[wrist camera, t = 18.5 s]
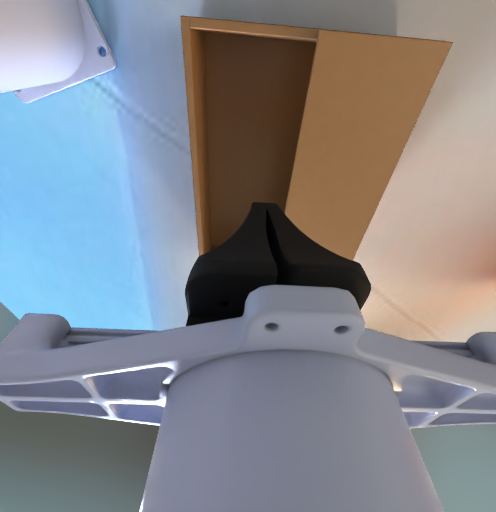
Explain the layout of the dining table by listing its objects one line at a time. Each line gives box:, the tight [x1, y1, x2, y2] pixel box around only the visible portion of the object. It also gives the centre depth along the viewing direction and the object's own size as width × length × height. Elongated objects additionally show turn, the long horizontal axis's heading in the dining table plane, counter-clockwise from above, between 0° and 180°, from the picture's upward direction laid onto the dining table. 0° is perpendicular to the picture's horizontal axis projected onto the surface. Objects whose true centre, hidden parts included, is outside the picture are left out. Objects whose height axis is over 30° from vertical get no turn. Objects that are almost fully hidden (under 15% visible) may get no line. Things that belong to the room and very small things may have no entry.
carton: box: [181, 16, 440, 256], centre depth 20 cm, size 18×13×5 cm
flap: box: [284, 30, 453, 260], centre depth 17 cm, size 18×6×1 cm, turn 176°
